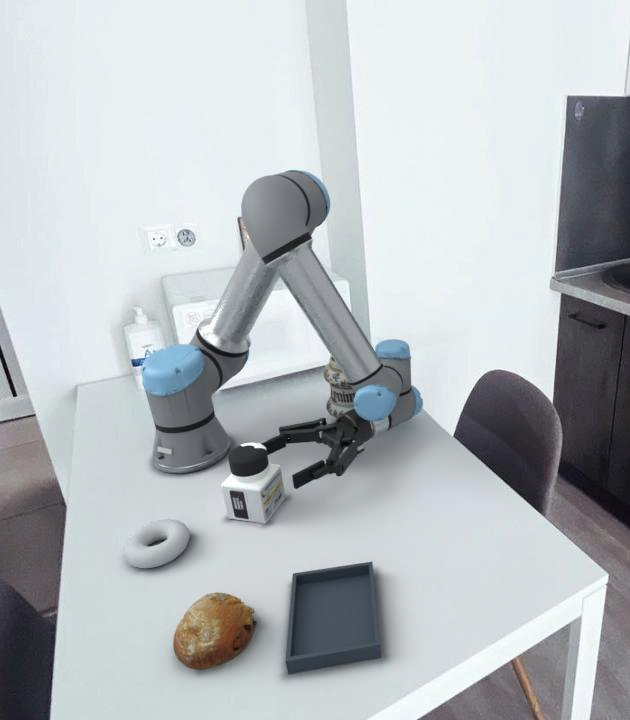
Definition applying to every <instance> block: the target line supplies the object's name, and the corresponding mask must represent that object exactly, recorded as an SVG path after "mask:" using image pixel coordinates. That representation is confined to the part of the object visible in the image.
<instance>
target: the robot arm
mask: <svg viewBox="0 0 630 720" xmlns="http://www.w3.org/2000/svg"><path fill="white" fill-rule="evenodd" d="M240 205H241V206H240V211H241V218H242V223H243V227H244V228H245V230H246V234H247V235H248V241H247V244H246V245H245V248H244V250H243V252H242V254H241V256H240V257H239V260H238V262H237V264H236V266H235V268H234V270H233V272H232V274H231V276H230V278H229V280H228V282H227V284H226V286H225V288H224V290H223V291H222V294H221V297H220V298H219V301H218V302H217V304H216V306H215V308H214V310H213V312H212V315H211V317H207V318H204V319H203V320H201V321H200V322H199V324H198V326H197V328H196V330H195V332H194V334H193V336H192V338H191V340H190V342H188V343H185V344H184V343H182V344H181V343H180V344H174V345H169V346H167V347H166V348H160V349H158V350H156V351H154V352H152V353H151V354H149V355H148V356H147V357H146V358H145V359H144V360H143V362H142V364H141V369H140V372H141V377H142V379H141V380H142V381H141V383H142V386H143V388H144V391H145V394H146V398H147V402H148V405H149V410H150V412H151V417H152V420H153V424H154V428H155V434H154V440H153V441H154V442H153V449H152V459H153V463H154V466H155V467H156V469H158V470H159V471H161V472H164V473H168V474H187V473H193V472H198V471H201V470H204V469H207V468H209V467H211V466H213V465H215V464H217V463H218V462H220V461H221V460H223V459H224V458H225V457H226V456H228V454H229V453H230V451H231V441H230V437H229V434H228V432H227V431H226V430H225V428H224V427H223V425H222V424H221V422H220V420H219V419H218V417H217V416H216V412H215V408H214V403H213V399H212V396H213V395H214V394H215V393H216V392H217V391H218V390H219V389H221V388H222V387H223V386H225V384H226V383H227V382H228V381H230V380H231V379H232V378H233V377H235V376H237V375H238V374H239V373H240V372H241V371H242V370H243V369H244V367H245V365H246V364H247V362H248V361H249V357H250V348H251V345H252V339H251V337H250V336H249V335H250V333H251V332H252V329H253V327H254V326H255V324H256V323H257V320H258V319H259V316H260V314H261V313H262V311H263V309H264V307H265V305H266V304H267V302H268V300H269V298H270V296H271V294H272V293H273V290H274V289H275V287H276V285H277V283H278V281H279V279H281V281H282V282H283V284H284V285H285V287H286V288H287V290H288V291H289V292H290V294H291V296H292V297H293V299H294V300H295V302H296V303H297V305H298V307H299V308H300V310H301V311H302V313H303V314H304V316H305V317H306V319H307V321H308V322H309V323H310V325H311V327H312V328H313V330H314V331H315V332H316V333H315V334H317V336H318V337H319V339H320V340H321V342H322V344H323V345H324V346H325V348H326V349H327V351H328V352H329V354H330V356H332V357H333V359H334V360H335V362H336V363H337V365H338V366H339V368H340V369H341V371H342V373H343V374H344V376H345V377H346V379H347V380H348V382H349V383H350V385H351V387H352V389H353V390H354V392H355V398H354V408H355V409H352V410H350V411H348V412H345V413H343V414H341V415H340V416H339V418H338V420H337V419H336V420H337V421H336V420H335V421H336V422H335V421H334V422H335V423H334V422H332V423H329V422H328V421H327V418H326V417H321V418H318V419H314V420H310V421H305V422H300V423H295V424H294V423H293V424H288V425H284V426H283V425H282V426H279V427H278V432H279V434H278V435H276V436H274V437H272V438H269V439H267V440H266V441H263V442H261V443H260V444H262V445H263V446H265V447H266V450H267V456H270V455H272V454H273V453H276V452H278V451H280V450H282V449H285V448H286V447H287V445H290V444H291V445H292V444H303V443H316V444H318V445H319V444H320V445H321V444H323V445H325V446H327V447H328V448H329V449H330V451H329V454H328V456H327V457H326V458H325V460H323V459H321V460H319V461H317V462H315V463H313V464H311V465H309V466H307V467H305V468H303V469H301V470H299V471H297V472H296V473H293V474H292V475H291V477H292V485H293V489H295V490H298V489H300V488H301V487H304V486H305V485H307V484H309V483H311V482H313V481H316V480H319V479H321V478H323V477H325V476H326V475H332V474H335V476H336V477H342V476H343V475H344V473H345V472H346V471H347V469H348V468H349V467H350V466H351V464H352V463H353V462H354V460H355V459H356V458H357V457H358V456H359V455H360V454H362V453H363V452H365V443H367V442H369V441H370V440H372V439H374V438H376V437H378V436H380V435H381V434H383V433H385V432H387V431H390V430H392V429H393V428H396V427H397V426H400V425H402V424H403V423H406V422H408V421H410V420H412V419H413V418H414V417H416V416H417V415H419V414H420V413H421V411H422V410H423V407H424V400H423V398H422V397H421V395H422V394H421V392H420V391H419V389H418V388H417V387H416V386H414V385H413V384H412V364H411V363H412V361H411V359H412V356H411V349H410V345H409V344H408V343H407V342H406V341H405V340H401V339H397V338H396V339H393V338H392V339H391V338H390V339H383V340H381V341H380V342H378V343H377V344H376V345H375V348H374V347H373V345H372V344H371V342H370V341H369V339H368V338H367V336H366V334H365V333H364V331H363V329H362V328H361V326H360V325H359V323H358V321H357V320H356V318H355V316H354V315H353V313H352V312H351V310H350V308H349V306H348V304H347V303H346V301H345V300H344V298H343V296H342V294H340V292H339V290H338V288H337V287H336V285H335V283H334V282H333V280H332V279H331V277H330V275H329V273H328V272H327V271H326V269H325V267H324V265H323V264H322V262H321V260H320V259H319V257H318V256H317V254H316V252H315V251H314V248H313V244H314V239H313V237H312V235H313V233H314V232H315V230H316V228H318V227H319V226H321V225H322V224H323V223H324V222H325V221H326V219H327V217H328V216H329V213H330V210H331V199H330V193H329V192H328V189H327V187H326V185H325V184H324V183H323V181H322V180H321V179H320V178H318V177H317V176H316V175H314V174H313V173H311V172H308V171H306V170H301V169H299V170H298V169H289V170H285V171H283V172H279V173H276V174H269V175H264V176H261V177H259V178H256V179H255V180H254V181H253V182H252V183H250V184H249V185H248V186H247V188H246V189H245V191H244V193H243V196H242V200H241V203H240Z"/></svg>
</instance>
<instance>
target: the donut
mask: <svg viewBox="0 0 630 720" xmlns="http://www.w3.org/2000/svg"><path fill="white" fill-rule="evenodd" d="M190 536H191V535H190V530H189V528H188V526H187V525H186V524H185V523H184V522H182V521H180V520H178V519H171V518H166V519H157V520H155V521H151V522H149V523H146V524H144V525H142V526H140V527H138V528H137V529H136V530H135V531H134V532H133V533H132V534H131V535H130V536H129V537H128V538H127V540H126V542H125V543H124V546H123V557H124V559H125V560H126V562H127V564H129V565H131V566H133V567H135V568H139V569H152V568H157V567H160V566H164V565H166V564H169V563H170V562H172V561H173V560H175V559H176V558H178V557H179V556H180V555H181V554H182V553H183V552H184V551H185V550H186V548H187V547H188V544H189V542H190V540H191V538H190ZM162 540H164V541H163V542H161V543H158V544H155V545H152V544H153V543H155V542H159V541H162Z"/></svg>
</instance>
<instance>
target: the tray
mask: <svg viewBox="0 0 630 720" xmlns="http://www.w3.org/2000/svg"><path fill="white" fill-rule="evenodd" d="M375 586H376V584H375V575H374V566H373V561H367V562H366V561H365V562H360V563H359V562H358V563H354V564H353V563H352V564H345V565H340V566H333V567H327V568H319V569H313V570H307V571H300V572H293V573H292V576H291V591H290V602H289V615H288V626H287V635H286V636H287V637H286V649H285V660H284V661H285V666H286V673H287V675H293V674H297V673H303V672H308V671H313V670H319V669H326V668H331V667H335V666H341V665H347V664H352V663H353V664H354V663H358V662H363V661H370V660H374V659H381V658H382V651H381V649H382V648H381V638H380V629H379V628H380V627H379V619H378V618H379V617H378V608H377V596H376V587H375Z"/></svg>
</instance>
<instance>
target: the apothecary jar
mask: <svg viewBox="0 0 630 720" xmlns="http://www.w3.org/2000/svg"><path fill="white" fill-rule="evenodd" d="M323 378H324V380H325V381H326V382H327V383H328V384H329V388H330V396H329V397H328V399H327V401H326V404H325V405H326V411H327V413H328V414H329V416H331V417H333V418H334V419H336V420H335V421H334V422H333V423H335V422H336V421H337V420H338V418H339V416H340V415H341V414H343V413H345V412H348V411H350V410H352V409H355V408H354V398H355V392H354V390H353V389H352V387H351V385H350V383H349V382H348V380H347V379H346V377H345V376H344V374H343V373H342V371H341V369H340V368H339V366H338V365H337V363H336V362H335V360H334V359H333V357H332V356H331V355H330V357H329V362H328V364H326V366H325V368H324V370H323Z"/></svg>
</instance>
